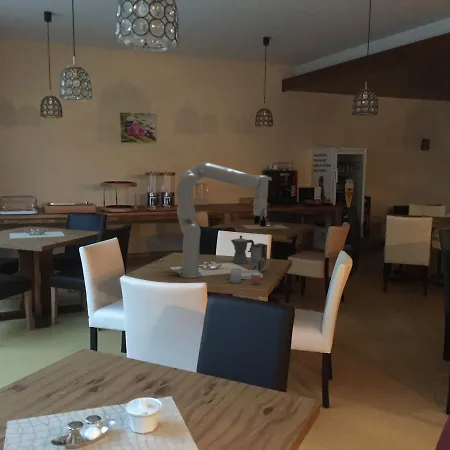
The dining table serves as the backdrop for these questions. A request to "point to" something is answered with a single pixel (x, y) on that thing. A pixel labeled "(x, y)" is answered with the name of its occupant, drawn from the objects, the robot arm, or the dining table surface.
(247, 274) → the tray
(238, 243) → the coffeepot
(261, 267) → the coffee box
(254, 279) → the jam jar
